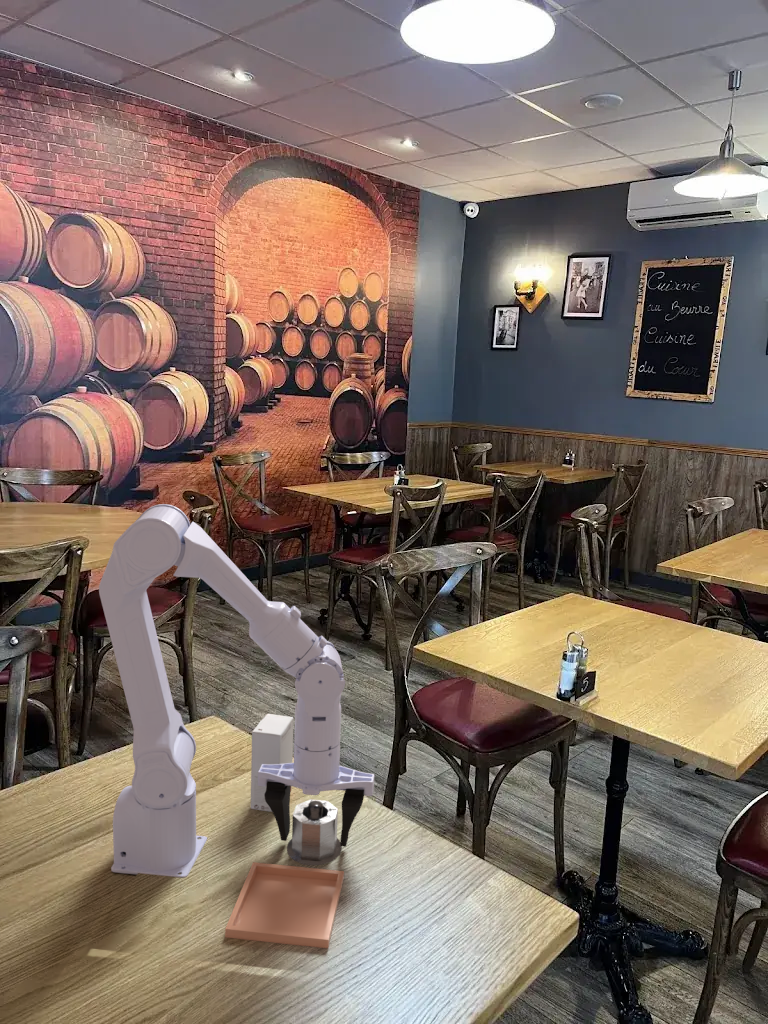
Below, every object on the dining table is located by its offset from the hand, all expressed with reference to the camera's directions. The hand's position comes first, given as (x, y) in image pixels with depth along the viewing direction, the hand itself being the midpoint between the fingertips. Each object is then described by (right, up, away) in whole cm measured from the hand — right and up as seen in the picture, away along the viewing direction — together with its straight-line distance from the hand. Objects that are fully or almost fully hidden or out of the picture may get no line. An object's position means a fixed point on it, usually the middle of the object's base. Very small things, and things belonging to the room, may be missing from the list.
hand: (314, 838), depth 96 cm
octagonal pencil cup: (0, -1, 0) cm, 1 cm away
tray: (-2, -4, -10) cm, 11 cm away
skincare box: (-7, 0, +11) cm, 13 cm away
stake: (0, -2, 0) cm, 2 cm away
